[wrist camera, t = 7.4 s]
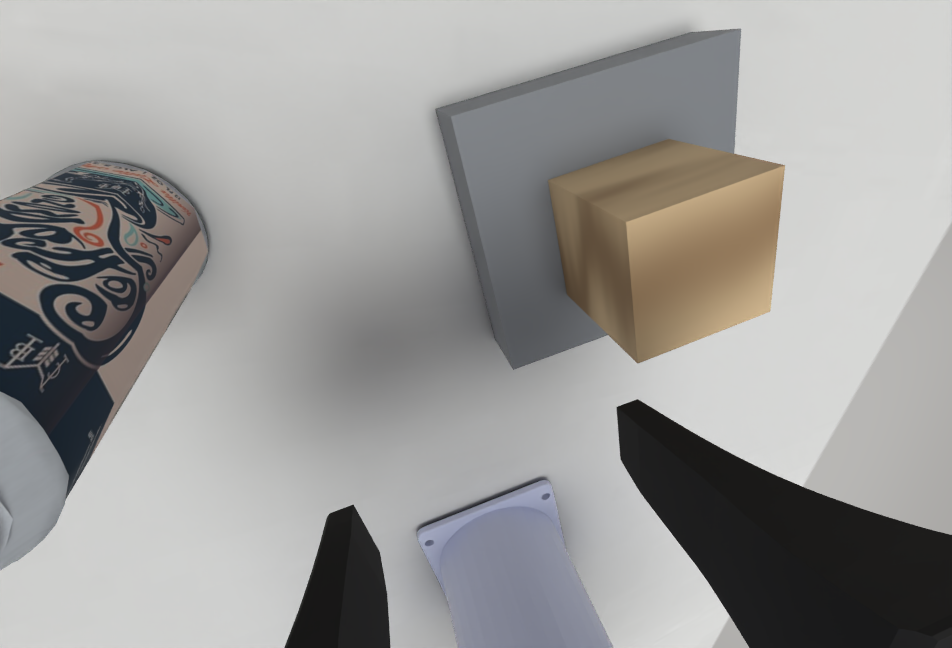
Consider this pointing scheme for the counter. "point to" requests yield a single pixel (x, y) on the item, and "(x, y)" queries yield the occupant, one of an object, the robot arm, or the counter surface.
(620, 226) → the oak block
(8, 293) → the beer can
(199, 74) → the counter surface
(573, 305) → the charcoal base
